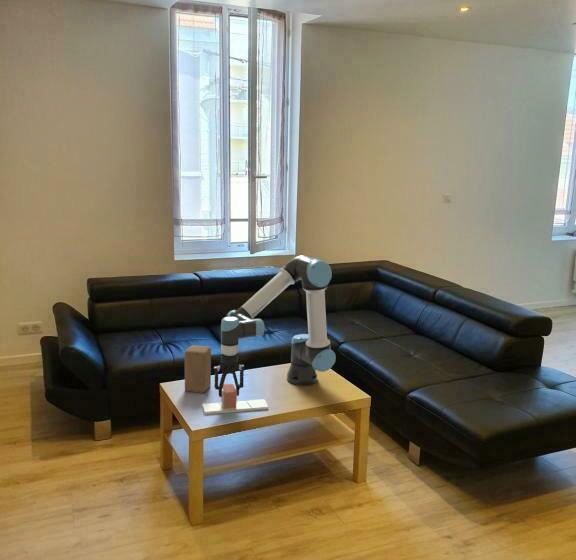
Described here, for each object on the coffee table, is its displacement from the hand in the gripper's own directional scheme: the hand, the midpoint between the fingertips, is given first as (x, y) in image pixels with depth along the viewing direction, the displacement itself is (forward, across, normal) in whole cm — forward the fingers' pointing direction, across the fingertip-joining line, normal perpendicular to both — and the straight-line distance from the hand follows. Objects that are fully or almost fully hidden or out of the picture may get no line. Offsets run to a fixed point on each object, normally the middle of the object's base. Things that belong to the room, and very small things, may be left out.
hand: (228, 402), depth 254 cm
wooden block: (+3, +11, -24) cm, 27 cm away
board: (+3, -3, 0) cm, 4 cm away
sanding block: (+1, 0, 0) cm, 1 cm away
